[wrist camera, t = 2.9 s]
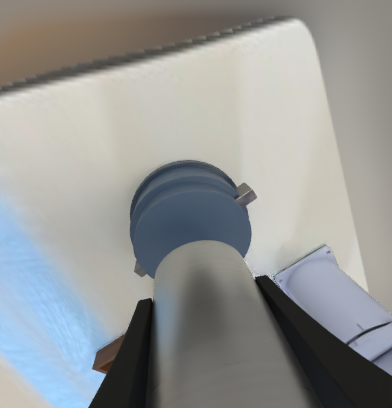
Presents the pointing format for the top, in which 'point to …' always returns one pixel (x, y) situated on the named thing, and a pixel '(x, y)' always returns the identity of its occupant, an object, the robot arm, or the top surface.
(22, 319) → the top surface
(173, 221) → the lidded cooking pot
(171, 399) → the cup
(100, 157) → the top surface
